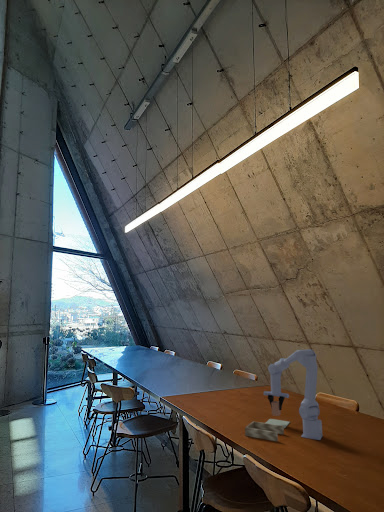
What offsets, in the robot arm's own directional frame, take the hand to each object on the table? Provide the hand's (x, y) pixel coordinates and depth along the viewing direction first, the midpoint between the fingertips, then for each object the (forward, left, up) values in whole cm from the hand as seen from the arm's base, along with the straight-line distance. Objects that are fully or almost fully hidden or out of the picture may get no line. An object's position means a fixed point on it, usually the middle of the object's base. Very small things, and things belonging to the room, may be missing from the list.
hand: (276, 409), depth 208 cm
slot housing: (0, +22, -8) cm, 23 cm away
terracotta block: (0, +1, -3) cm, 3 cm away
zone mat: (0, 0, -8) cm, 8 cm away
